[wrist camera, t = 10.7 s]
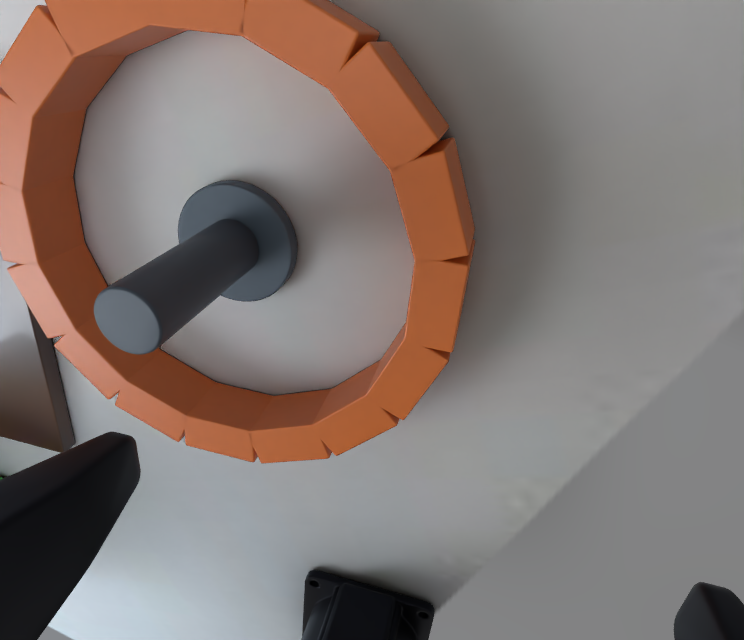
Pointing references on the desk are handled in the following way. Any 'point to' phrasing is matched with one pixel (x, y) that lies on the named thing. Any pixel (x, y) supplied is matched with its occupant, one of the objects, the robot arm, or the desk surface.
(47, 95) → the ring
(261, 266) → the slate stand
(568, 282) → the desk surface
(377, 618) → the robot arm
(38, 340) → the walnut stand
